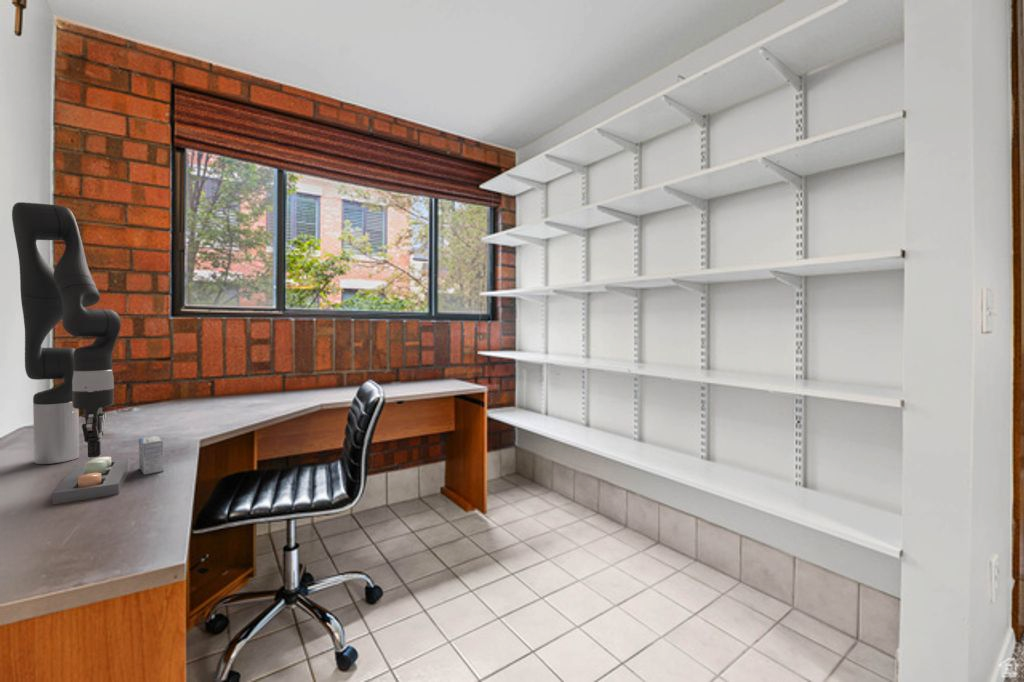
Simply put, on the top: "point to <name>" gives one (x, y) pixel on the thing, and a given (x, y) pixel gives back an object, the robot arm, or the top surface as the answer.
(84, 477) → the orange button
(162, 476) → the top surface
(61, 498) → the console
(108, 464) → the ivory button
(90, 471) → the sage button
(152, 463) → the medicine box
